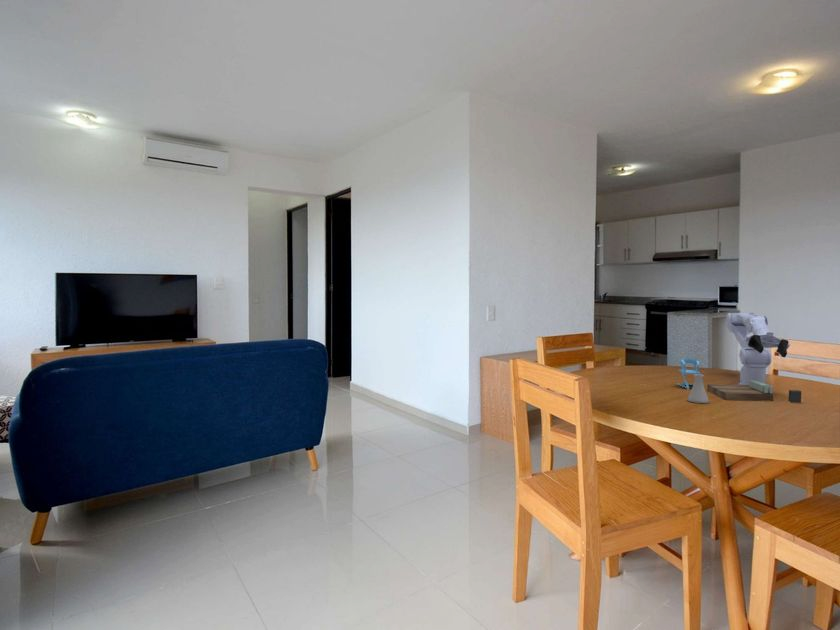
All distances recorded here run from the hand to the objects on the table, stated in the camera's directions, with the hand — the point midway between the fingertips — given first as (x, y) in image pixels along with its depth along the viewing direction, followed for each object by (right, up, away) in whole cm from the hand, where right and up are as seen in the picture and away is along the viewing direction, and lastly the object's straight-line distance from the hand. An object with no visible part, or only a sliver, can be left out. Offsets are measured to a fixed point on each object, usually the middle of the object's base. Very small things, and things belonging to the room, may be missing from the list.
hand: (773, 353), depth 178 cm
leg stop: (+5, -18, -3) cm, 19 cm away
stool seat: (-8, -17, +8) cm, 20 cm away
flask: (-28, -18, 0) cm, 33 cm away
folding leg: (-2, -14, +4) cm, 15 cm away
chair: (-19, -16, +23) cm, 34 cm away
